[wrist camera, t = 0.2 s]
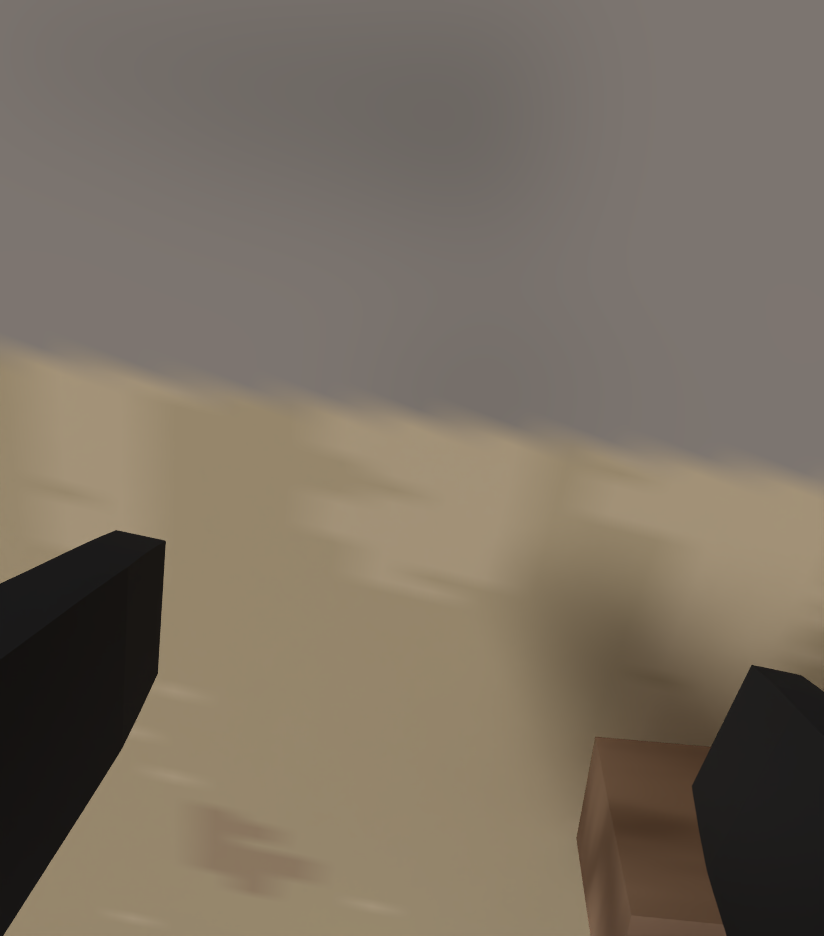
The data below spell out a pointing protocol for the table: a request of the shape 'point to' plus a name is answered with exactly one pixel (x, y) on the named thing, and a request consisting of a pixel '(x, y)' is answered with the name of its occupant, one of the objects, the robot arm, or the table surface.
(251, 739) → the table surface
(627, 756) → the walnut block
